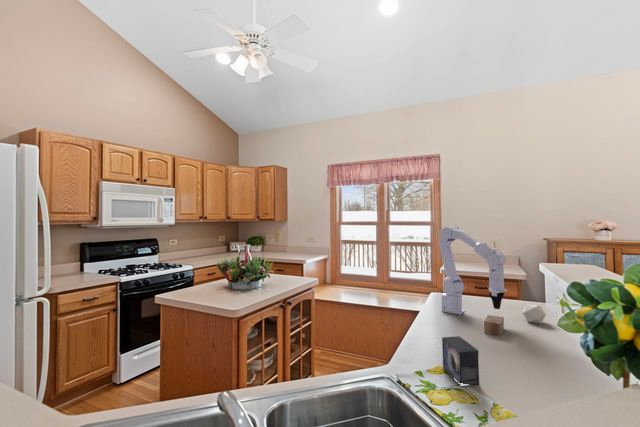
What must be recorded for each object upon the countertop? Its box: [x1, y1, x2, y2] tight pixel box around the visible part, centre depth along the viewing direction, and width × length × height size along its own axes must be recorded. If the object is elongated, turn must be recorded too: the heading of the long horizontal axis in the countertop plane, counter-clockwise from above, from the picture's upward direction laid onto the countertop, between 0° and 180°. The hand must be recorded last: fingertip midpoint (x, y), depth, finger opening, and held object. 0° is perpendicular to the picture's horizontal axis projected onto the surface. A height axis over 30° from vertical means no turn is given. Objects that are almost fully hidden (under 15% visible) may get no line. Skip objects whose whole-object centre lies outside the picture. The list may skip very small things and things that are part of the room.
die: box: [521, 303, 547, 325], centre depth 136 cm, size 8×9×10 cm
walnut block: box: [483, 314, 505, 337], centre depth 126 cm, size 6×5×10 cm
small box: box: [441, 335, 480, 386], centre depth 91 cm, size 11×6×10 cm, turn 5°
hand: (496, 308), depth 134 cm, fingers closed
